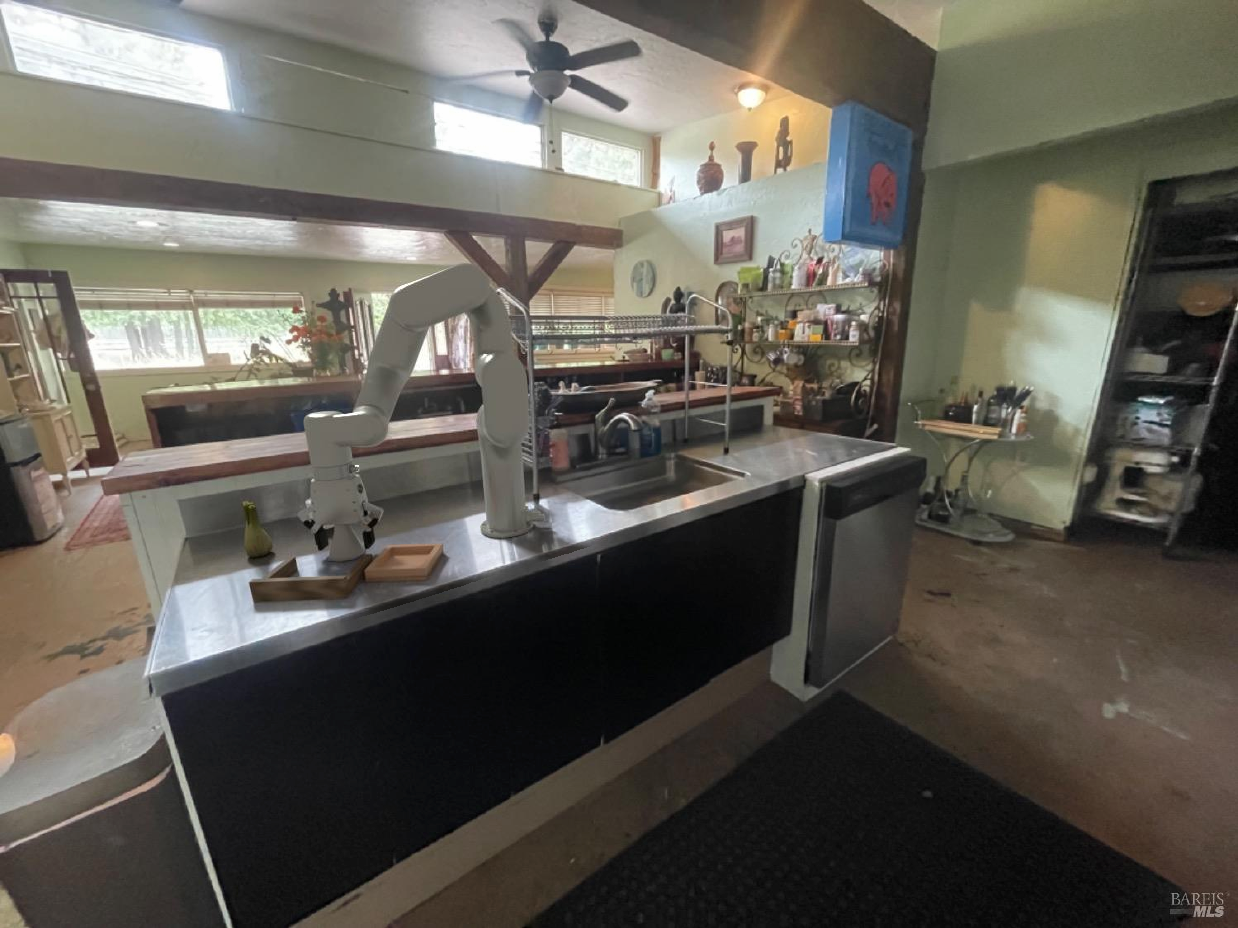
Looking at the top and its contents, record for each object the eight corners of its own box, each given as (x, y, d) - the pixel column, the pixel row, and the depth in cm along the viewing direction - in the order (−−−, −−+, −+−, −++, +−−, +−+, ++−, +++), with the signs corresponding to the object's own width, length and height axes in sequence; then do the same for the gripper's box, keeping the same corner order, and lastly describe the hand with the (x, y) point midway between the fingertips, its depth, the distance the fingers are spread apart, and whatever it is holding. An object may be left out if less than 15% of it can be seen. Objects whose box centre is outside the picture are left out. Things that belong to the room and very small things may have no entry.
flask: (337, 548, 111) (330, 506, 108) (371, 547, 111) (364, 505, 109) (321, 563, 104) (313, 519, 101) (357, 562, 104) (350, 517, 102)
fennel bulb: (250, 551, 110) (239, 500, 107) (276, 547, 112) (266, 496, 109) (244, 561, 105) (231, 508, 102) (271, 557, 107) (260, 505, 104)
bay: (374, 567, 102) (371, 549, 101) (346, 598, 90) (343, 578, 89) (292, 570, 101) (288, 552, 100) (253, 602, 89) (248, 582, 88)
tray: (443, 553, 108) (442, 543, 107) (427, 579, 97) (425, 568, 96) (389, 555, 107) (387, 544, 107) (366, 582, 96) (364, 570, 95)
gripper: (383, 465, 107) (394, 538, 111) (300, 467, 106) (314, 541, 110) (369, 475, 100) (380, 553, 104) (279, 478, 99) (295, 556, 103)
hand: (346, 547), depth 107 cm, fingers open, 9 cm apart
